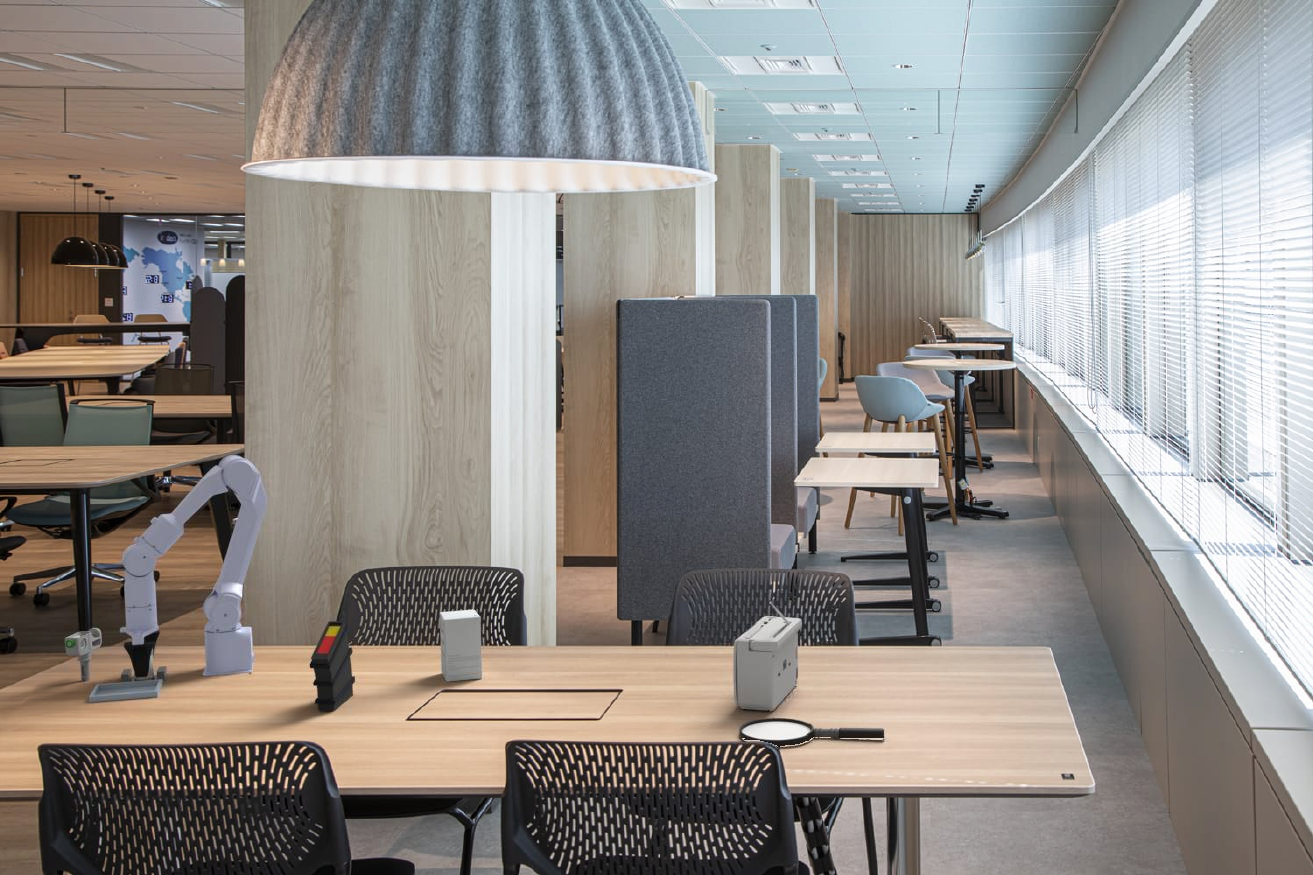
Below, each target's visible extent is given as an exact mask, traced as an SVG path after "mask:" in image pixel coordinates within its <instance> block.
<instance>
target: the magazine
mask: <svg viewBox="0 0 1313 875" xmlns="http://www.w3.org/2000/svg"><path fill="white" fill-rule="evenodd" d="M349 629H350V628H349V625H348V624H347V625H346V624H345V621H343V620H342V621H341V620H339V621H338V620H336V621H335V620H334V621H333V620H331V621H327V624H326V626H325V628H324V630H323V632H322V634H321V636H320V637H319V640H318V643H317V644H316V647H315V648H314V650H313V652H312V655H311V657H310V659H311V661H310V663H309V669H313V672H314V677H315V679H314V681H313V682H312V684H313V687H314V686H315V687H316V694H317V697H316V699H314V704H315V705H317V710H318V712H335V711H336V710H337V709H338V708H339V707H341V706H343V704H344V703H346V702H347V701H348V700H350V698H351V697H352V696H353V695H354V693H353V692H354V691H353V690H354V689H353V686H354V684H355V683H356V676H354V675H353V670H352V660H351V656H352V654H353V653H354V652H353V648H352V647H350V645H349V638H348V631H349Z"/></svg>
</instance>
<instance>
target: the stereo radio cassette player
mask: <svg viewBox="0 0 1313 875" xmlns="http://www.w3.org/2000/svg"><path fill="white" fill-rule="evenodd" d="M768 603H769V605H771V606H772V608H773V609H774V611H775V612H776V613H777V614H778V615H779V616H771V615H770V616H769V615H765V616H763V617H761V618H759V620H758V621H757V622H755V623H754V624H753V625H752V626H751V627H749V629H746V631H745V632H744V633H742V634H741V635H740V636H739V637H738V638H736V639H735V641H734V645H733V663H732V664H733V665H732V666H733V668H732V670H733V672H732V673H733V674H732V676H733V678H732V679H733V680H732V681H733V695H734V697H733V698H734V704H735V706H739V708H740V709H742V710H743V709H746V710H756V711H768V710H770V711H772V712H773V711H775V710H776V708H777V707H778V706H779V705H780V703H782V701H783V700H784V699H785V698H786V697H787V696H788V695H789V693H790V692H792V690H793V689H794V688H795V687H797V684H798V677H799V656H798V655H799V653H798V652H799V651H798V650H799V649H798V648H799V645H798V644H799V641H798V640H799V639H798V636H799V634H798V633H799V630H801V629H802V625H803V623H802V622H803V621H802V619H801V618H798V617H788V616H785V615H783V613H782V612H780V610H779V609H778V608H777V607H776V606H775V605H774V604H773V601H769V602H768ZM770 711H769V712H770Z"/></svg>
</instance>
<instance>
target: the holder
mask: <svg viewBox="0 0 1313 875" xmlns="http://www.w3.org/2000/svg"><path fill="white" fill-rule="evenodd" d="M167 673H168V671H167V665H162V666H158V668H157V670H156V674H154V679H153V680H159V679H163V682H166V680H167V678H168V676H169V674H167ZM132 675H133V673H132V668H126V669H125V668H124V669H123V671H122V672H121V674H120V683H121V682H134V676H132Z"/></svg>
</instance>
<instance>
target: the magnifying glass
mask: <svg viewBox="0 0 1313 875" xmlns="http://www.w3.org/2000/svg"><path fill="white" fill-rule="evenodd" d="M738 732H739V734H740V735H739V737H740V736H741V738H745V739H744V740H760V741H764V742H768V743H772V744H774V745H777V746H778V747H779V748H778V749H780V746H785V745H795V744H800V743H803V742H805V741H809V740H810V739H811V738H813V737H831V738H884V739H885V729H884V728H883V727H882V728H877V727H839V728H837V727H836V728H833V727H832V728H831V727H830V728H822V727H820V728H818V727H814V725H813V724H812V723H808V722H806V721H804V720H800V719H795V718H785V717H769V718H761V719H754V720H751V721H748V722H745V723H744V724H742V725H741V726H740V727H739V731H738ZM741 738H740V739H741Z"/></svg>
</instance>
